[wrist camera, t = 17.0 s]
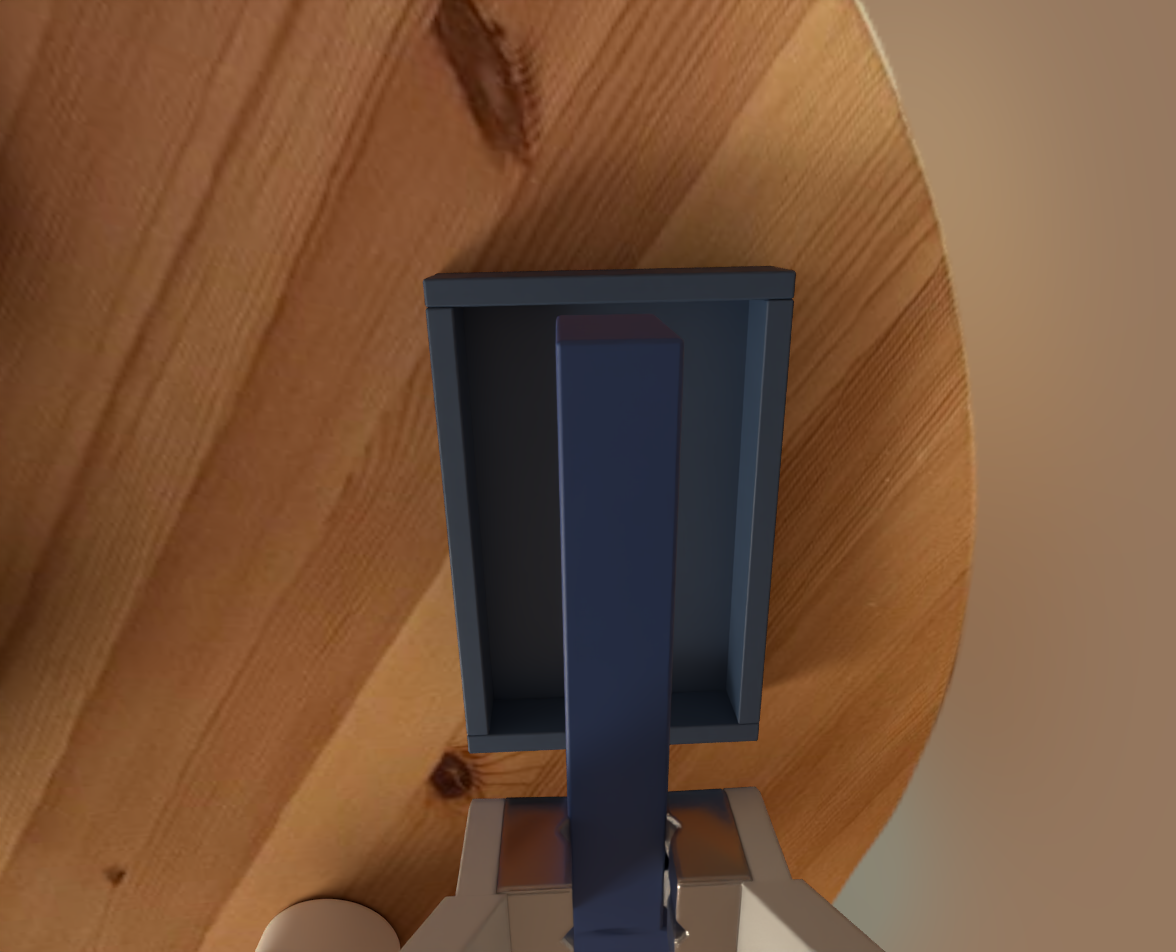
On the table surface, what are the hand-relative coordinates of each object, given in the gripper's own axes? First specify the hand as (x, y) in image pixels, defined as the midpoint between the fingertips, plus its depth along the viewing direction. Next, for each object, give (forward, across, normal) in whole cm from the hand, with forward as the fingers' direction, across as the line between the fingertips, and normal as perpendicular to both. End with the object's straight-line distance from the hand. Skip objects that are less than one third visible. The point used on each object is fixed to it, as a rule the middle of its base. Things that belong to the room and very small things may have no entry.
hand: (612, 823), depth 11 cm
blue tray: (+14, -1, +1) cm, 15 cm away
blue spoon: (+2, 0, -1) cm, 2 cm away
